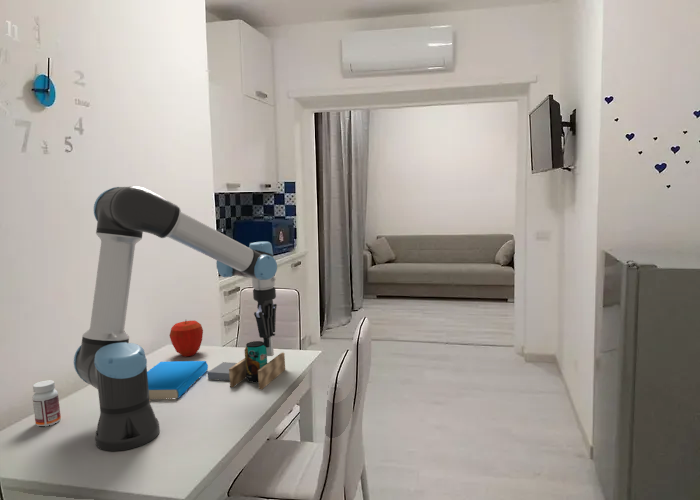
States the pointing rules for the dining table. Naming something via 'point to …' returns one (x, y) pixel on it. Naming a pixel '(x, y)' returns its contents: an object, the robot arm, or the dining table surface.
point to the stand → (221, 371)
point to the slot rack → (264, 374)
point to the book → (173, 378)
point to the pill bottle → (46, 403)
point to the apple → (186, 337)
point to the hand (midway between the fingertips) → (269, 355)
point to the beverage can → (255, 359)
